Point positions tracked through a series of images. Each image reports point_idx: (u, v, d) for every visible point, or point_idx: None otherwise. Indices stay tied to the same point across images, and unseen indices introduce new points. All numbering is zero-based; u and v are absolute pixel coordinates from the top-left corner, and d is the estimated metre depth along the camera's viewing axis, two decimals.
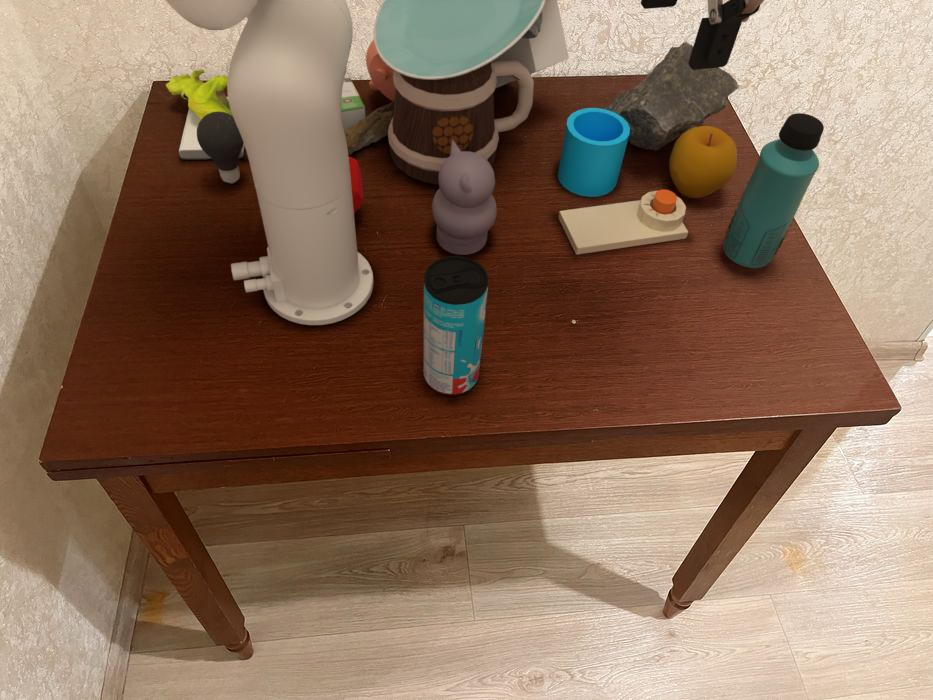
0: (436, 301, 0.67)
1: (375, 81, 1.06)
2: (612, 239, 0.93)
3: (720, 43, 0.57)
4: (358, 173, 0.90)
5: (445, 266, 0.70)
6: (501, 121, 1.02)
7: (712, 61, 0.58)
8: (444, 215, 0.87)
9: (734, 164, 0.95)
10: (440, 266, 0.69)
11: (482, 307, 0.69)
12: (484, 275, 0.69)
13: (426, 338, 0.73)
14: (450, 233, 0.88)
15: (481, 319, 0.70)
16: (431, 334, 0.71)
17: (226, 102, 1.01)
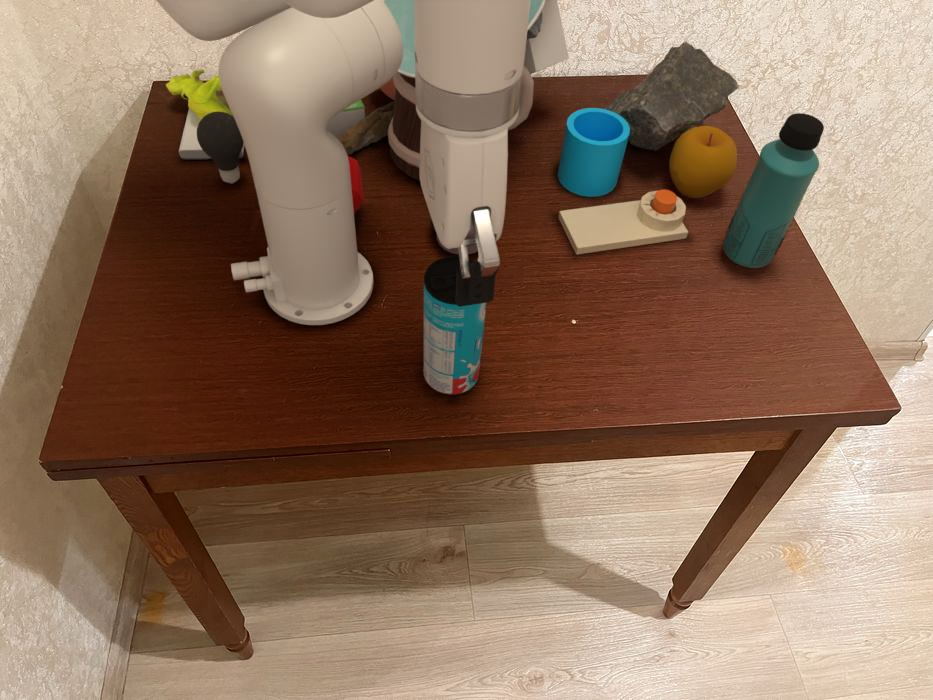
0: (436, 301, 0.67)
1: None
2: (612, 239, 0.93)
3: (476, 290, 0.61)
4: (358, 173, 0.90)
5: (445, 266, 0.70)
6: None
7: (473, 302, 0.62)
8: None
9: (734, 164, 0.95)
10: (440, 266, 0.69)
11: (482, 307, 0.69)
12: None
13: (426, 338, 0.73)
14: None
15: (481, 319, 0.70)
16: (431, 334, 0.71)
17: (226, 102, 1.01)
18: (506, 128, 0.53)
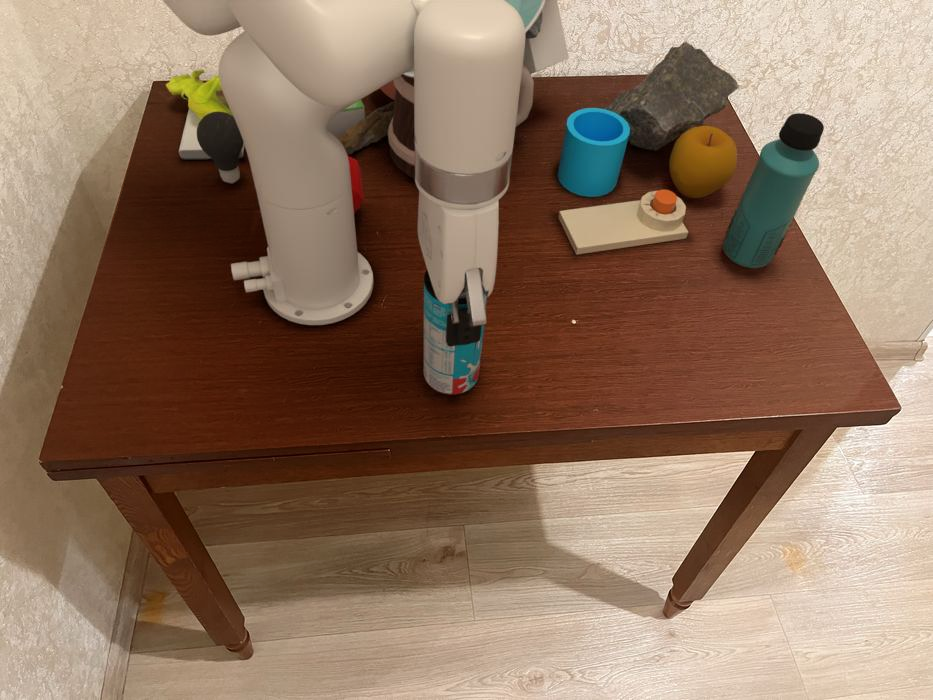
0: (436, 301, 0.67)
1: None
2: (612, 239, 0.93)
3: (465, 333, 0.68)
4: (358, 173, 0.90)
5: None
6: None
7: (462, 343, 0.69)
8: None
9: (734, 164, 0.95)
10: None
11: None
12: None
13: (426, 338, 0.73)
14: None
15: None
16: (431, 334, 0.71)
17: (226, 102, 1.01)
18: (497, 200, 0.58)
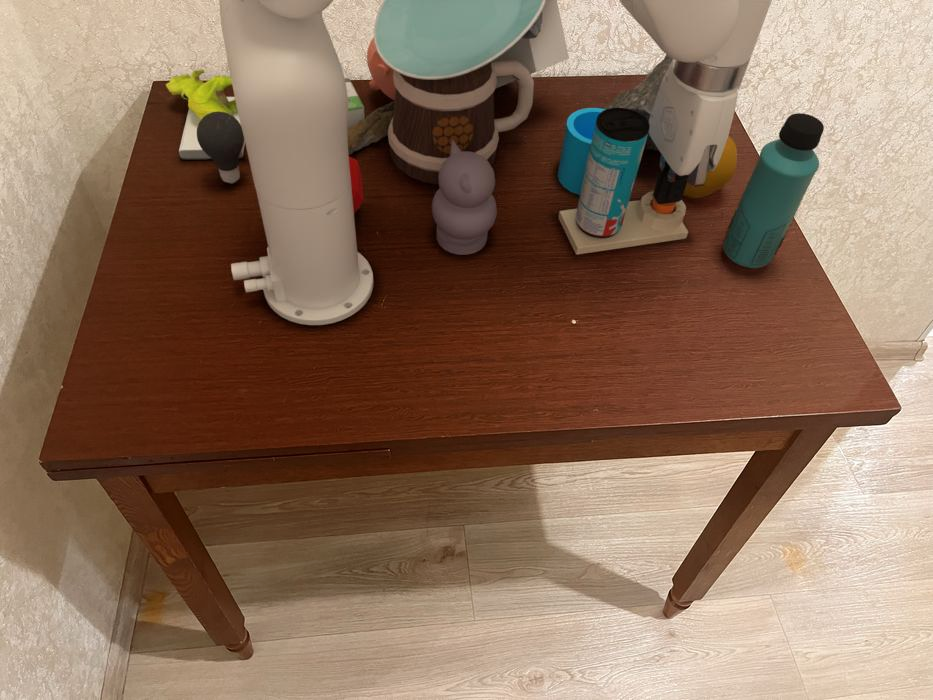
0: (608, 139, 0.82)
1: (375, 78, 1.06)
2: (612, 239, 0.93)
3: (675, 191, 0.91)
4: (358, 173, 0.90)
5: (611, 115, 0.84)
6: (501, 121, 1.02)
7: (671, 200, 0.92)
8: (444, 215, 0.87)
9: (734, 164, 0.95)
10: (607, 115, 0.84)
11: (642, 148, 0.84)
12: (645, 121, 0.83)
13: (589, 181, 0.87)
14: (450, 233, 0.88)
15: (639, 160, 0.85)
16: (596, 174, 0.86)
17: (226, 102, 1.01)
18: (736, 90, 0.79)
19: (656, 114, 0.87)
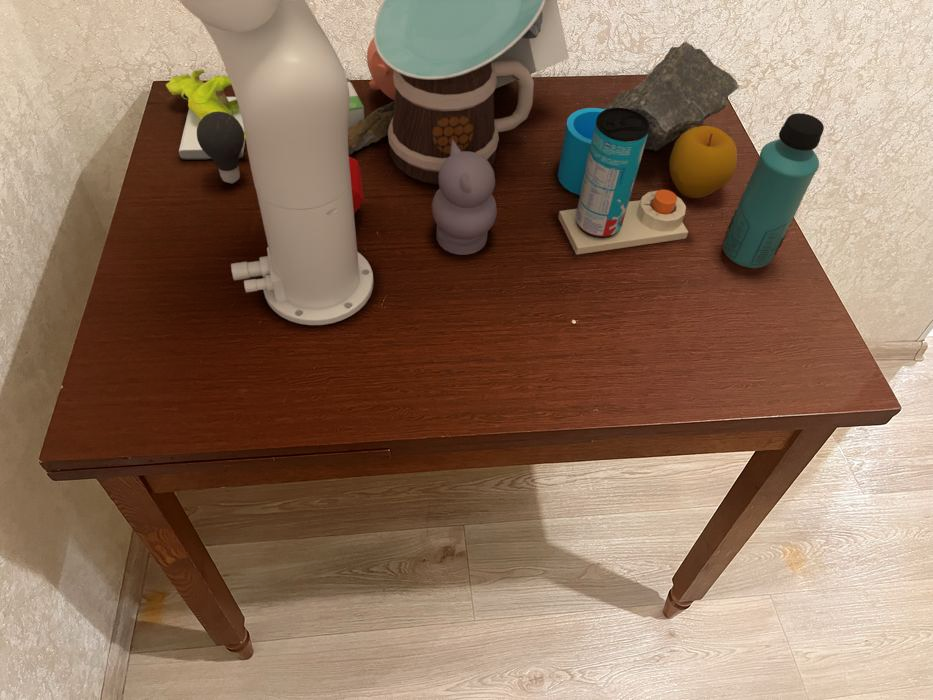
0: (608, 139, 0.82)
1: (375, 78, 1.06)
2: (612, 239, 0.93)
3: None
4: (358, 173, 0.90)
5: (611, 115, 0.84)
6: (501, 121, 1.02)
7: None
8: (444, 215, 0.87)
9: (734, 164, 0.95)
10: (607, 115, 0.84)
11: (642, 148, 0.84)
12: (645, 121, 0.83)
13: (589, 181, 0.87)
14: (450, 233, 0.88)
15: (639, 160, 0.85)
16: (596, 174, 0.86)
17: (226, 102, 1.01)
18: None
19: None
